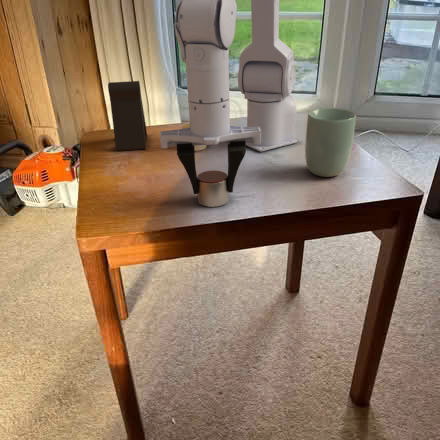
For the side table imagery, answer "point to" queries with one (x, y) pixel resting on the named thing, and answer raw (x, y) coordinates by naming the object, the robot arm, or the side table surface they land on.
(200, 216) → the side table surface
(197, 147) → the pale yellow short cylinder
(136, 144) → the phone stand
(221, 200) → the cylinder
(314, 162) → the cup
